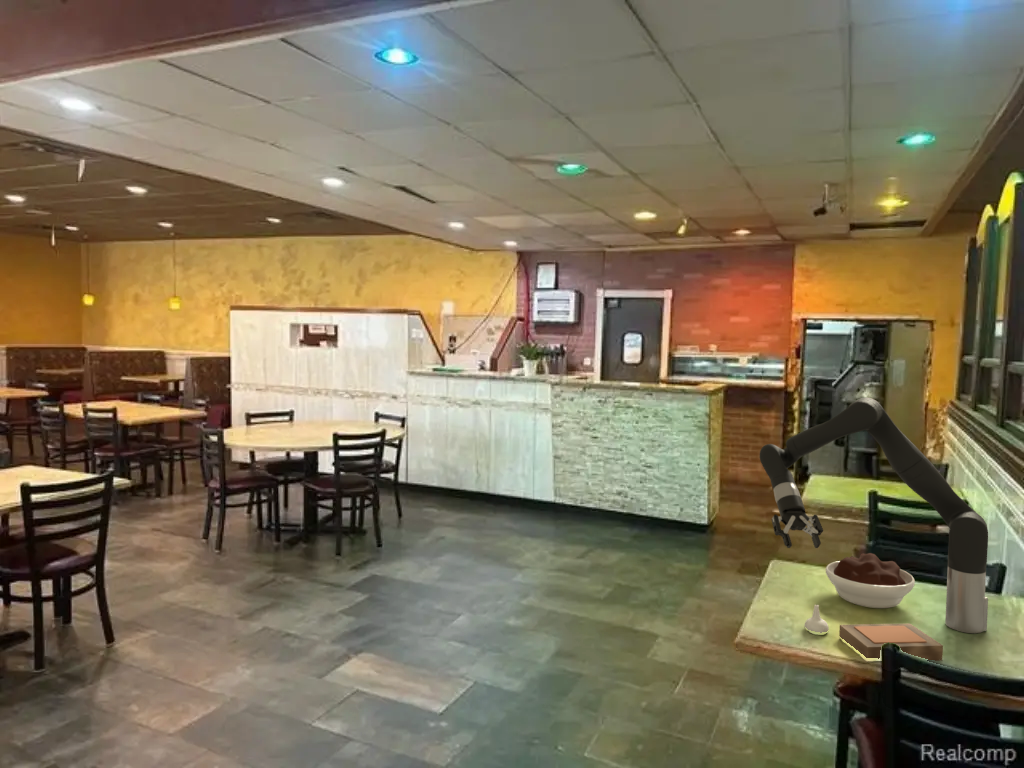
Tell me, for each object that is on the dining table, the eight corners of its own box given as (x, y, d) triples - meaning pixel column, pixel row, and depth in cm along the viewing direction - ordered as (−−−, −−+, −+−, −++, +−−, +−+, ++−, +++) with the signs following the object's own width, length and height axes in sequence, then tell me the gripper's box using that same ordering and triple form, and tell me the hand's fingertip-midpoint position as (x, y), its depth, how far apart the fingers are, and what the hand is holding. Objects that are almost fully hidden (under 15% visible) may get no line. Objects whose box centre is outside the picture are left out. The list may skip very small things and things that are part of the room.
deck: (909, 637, 194) (909, 623, 194) (942, 660, 180) (943, 645, 180) (839, 638, 193) (839, 624, 193) (867, 662, 179) (867, 647, 179)
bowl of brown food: (927, 620, 206) (929, 570, 205) (838, 615, 210) (839, 566, 209) (895, 590, 230) (897, 545, 229) (815, 586, 234) (816, 542, 233)
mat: (903, 626, 192) (903, 625, 192) (926, 642, 182) (926, 641, 182) (854, 627, 191) (854, 626, 191) (874, 643, 181) (874, 642, 181)
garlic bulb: (826, 630, 200) (826, 602, 200) (830, 637, 194) (830, 608, 194) (802, 628, 202) (803, 600, 202) (806, 635, 196) (806, 606, 196)
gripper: (770, 493, 217) (784, 540, 206) (815, 494, 217) (831, 540, 207) (762, 506, 223) (776, 552, 212) (806, 506, 223) (822, 552, 213)
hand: (803, 546), depth 209 cm, fingers open, 8 cm apart
